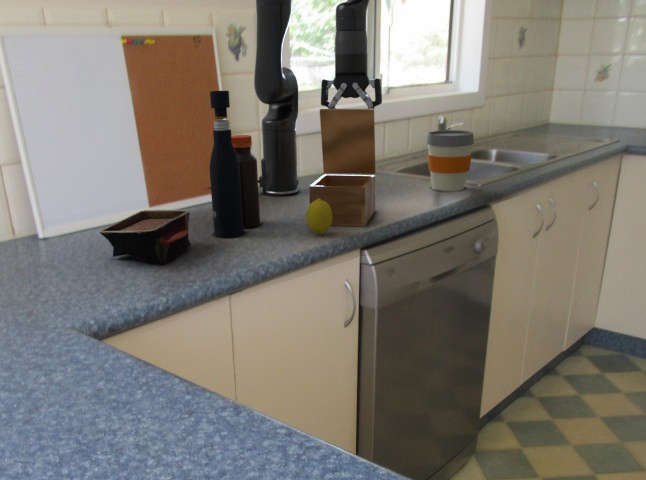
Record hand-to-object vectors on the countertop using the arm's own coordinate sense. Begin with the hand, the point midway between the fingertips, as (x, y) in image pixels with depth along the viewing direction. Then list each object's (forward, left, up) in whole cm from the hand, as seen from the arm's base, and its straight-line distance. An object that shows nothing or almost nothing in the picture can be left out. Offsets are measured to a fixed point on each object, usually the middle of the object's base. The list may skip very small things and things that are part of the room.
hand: (351, 124), depth 158 cm
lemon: (-2, -26, -20) cm, 33 cm away
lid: (0, -4, -4) cm, 6 cm away
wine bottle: (-22, -28, -20) cm, 41 cm away
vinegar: (-21, -20, -20) cm, 35 cm away
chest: (0, -10, -20) cm, 23 cm away
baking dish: (-32, -45, -20) cm, 59 cm away
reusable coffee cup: (+22, +28, -20) cm, 41 cm away
